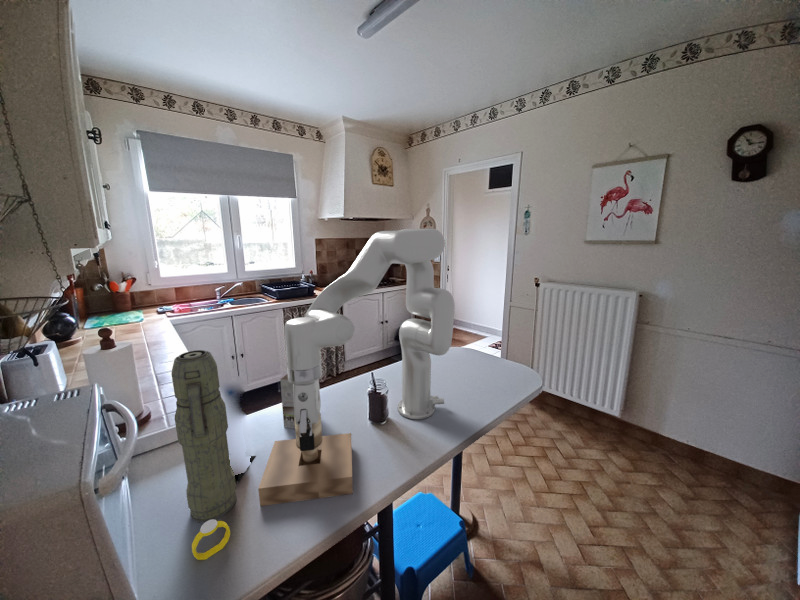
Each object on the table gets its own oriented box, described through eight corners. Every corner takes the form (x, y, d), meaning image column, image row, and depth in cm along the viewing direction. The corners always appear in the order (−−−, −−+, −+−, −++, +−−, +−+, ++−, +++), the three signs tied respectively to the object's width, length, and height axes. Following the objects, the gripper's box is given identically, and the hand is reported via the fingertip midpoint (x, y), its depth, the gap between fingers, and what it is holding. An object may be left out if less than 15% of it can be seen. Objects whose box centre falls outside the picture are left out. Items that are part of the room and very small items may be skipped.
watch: (198, 569, 55) (190, 544, 53) (193, 558, 57) (186, 533, 55) (234, 544, 59) (228, 519, 57) (228, 534, 61) (223, 510, 59)
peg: (324, 446, 79) (321, 407, 77) (322, 463, 73) (319, 422, 71) (299, 449, 78) (296, 410, 76) (295, 466, 72) (292, 424, 70)
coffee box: (302, 430, 94) (298, 381, 91) (283, 427, 95) (279, 379, 92) (316, 413, 103) (313, 368, 99) (298, 411, 104) (295, 366, 101)
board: (351, 447, 86) (351, 433, 85) (352, 493, 71) (352, 476, 70) (276, 455, 83) (274, 441, 82) (260, 506, 67) (258, 488, 66)
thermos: (191, 537, 60) (163, 370, 53) (189, 496, 70) (165, 350, 63) (241, 514, 65) (222, 359, 58) (233, 479, 75) (215, 341, 68)
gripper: (318, 387, 64) (322, 463, 67) (324, 356, 80) (327, 418, 84) (279, 390, 62) (286, 468, 66) (293, 358, 79) (298, 421, 83)
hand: (309, 439), depth 75 cm, fingers closed on peg, 6 cm apart
